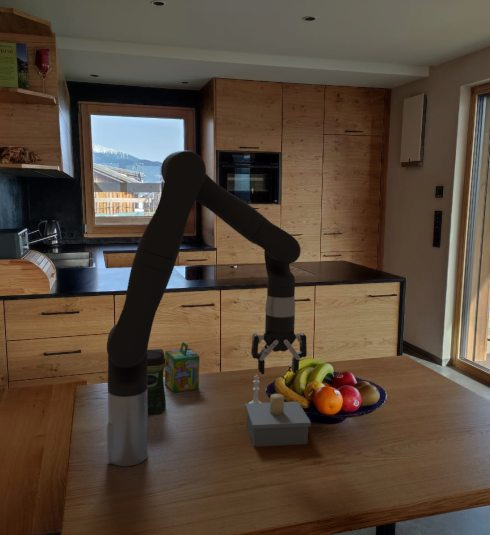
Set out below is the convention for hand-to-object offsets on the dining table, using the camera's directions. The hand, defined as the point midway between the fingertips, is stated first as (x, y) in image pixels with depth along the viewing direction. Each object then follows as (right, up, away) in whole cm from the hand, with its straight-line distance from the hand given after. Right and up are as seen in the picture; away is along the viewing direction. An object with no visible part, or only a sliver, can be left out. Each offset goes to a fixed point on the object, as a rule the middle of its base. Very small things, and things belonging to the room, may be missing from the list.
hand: (278, 372), depth 130 cm
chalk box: (-30, -12, +36) cm, 49 cm away
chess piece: (-5, -15, +22) cm, 27 cm away
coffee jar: (-37, -15, +17) cm, 43 cm away
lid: (0, -12, +2) cm, 12 cm away
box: (0, -18, +3) cm, 18 cm away
